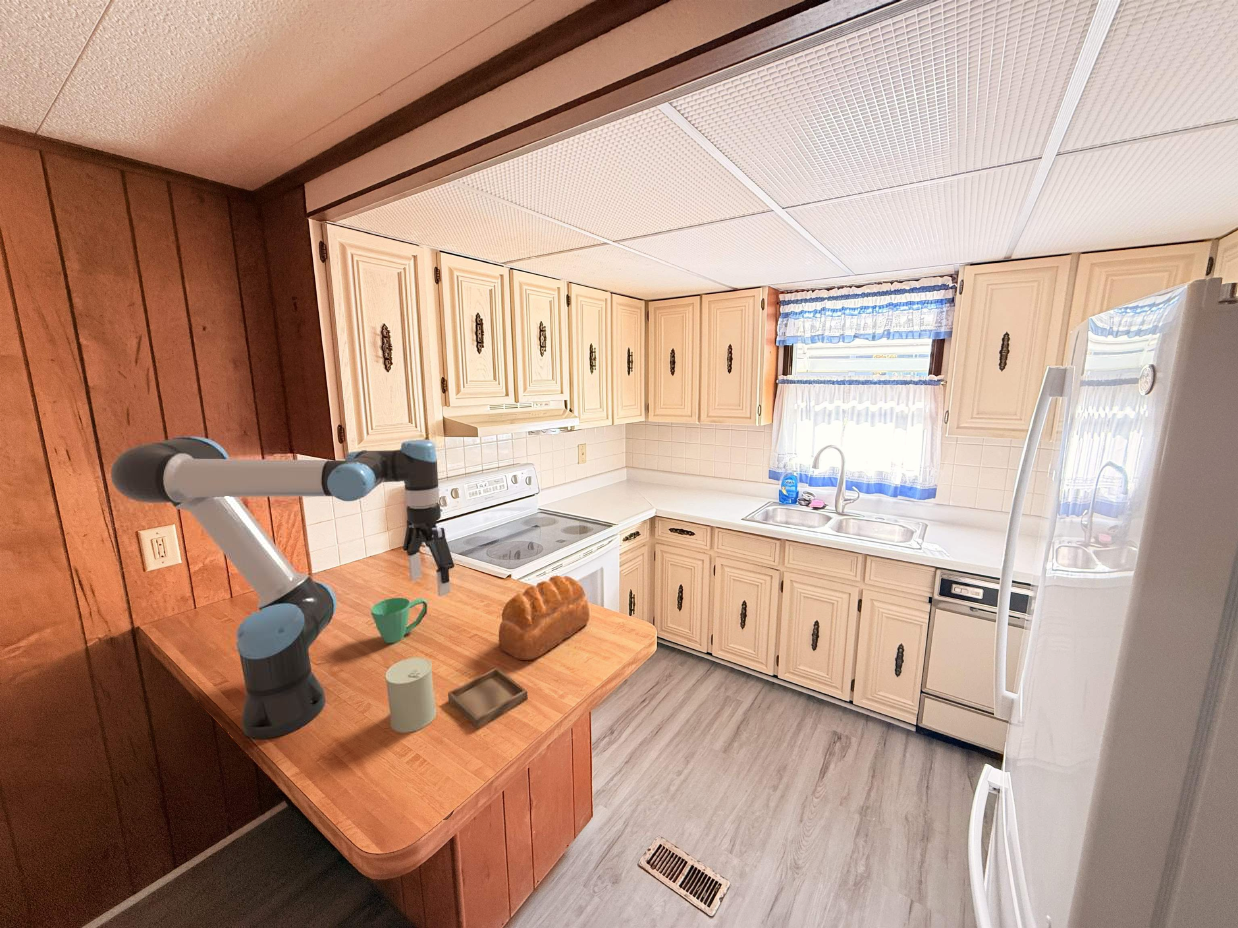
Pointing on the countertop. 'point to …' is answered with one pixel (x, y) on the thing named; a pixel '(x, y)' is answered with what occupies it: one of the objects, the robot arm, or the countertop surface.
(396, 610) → the mug
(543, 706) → the countertop surface
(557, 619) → the bread
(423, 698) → the can
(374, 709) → the countertop surface
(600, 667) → the countertop surface
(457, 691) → the tray
